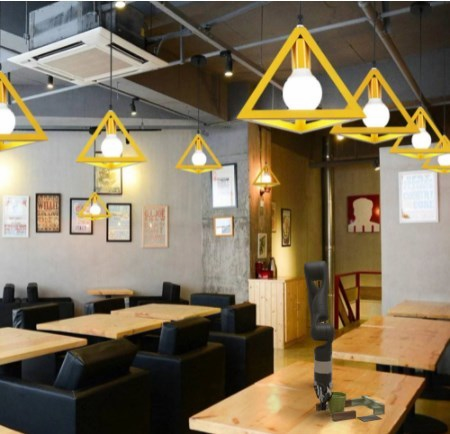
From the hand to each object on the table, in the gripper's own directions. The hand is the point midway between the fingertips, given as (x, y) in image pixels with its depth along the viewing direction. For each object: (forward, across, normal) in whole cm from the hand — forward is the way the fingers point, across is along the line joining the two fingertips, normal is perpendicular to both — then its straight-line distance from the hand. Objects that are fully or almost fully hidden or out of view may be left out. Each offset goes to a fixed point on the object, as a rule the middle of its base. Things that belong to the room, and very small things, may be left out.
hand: (323, 410), depth 228 cm
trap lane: (+2, 0, +14) cm, 14 cm away
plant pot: (+3, 0, +7) cm, 7 cm away
